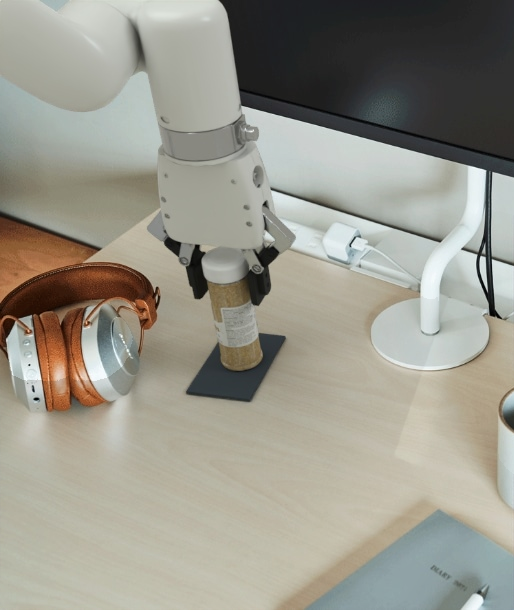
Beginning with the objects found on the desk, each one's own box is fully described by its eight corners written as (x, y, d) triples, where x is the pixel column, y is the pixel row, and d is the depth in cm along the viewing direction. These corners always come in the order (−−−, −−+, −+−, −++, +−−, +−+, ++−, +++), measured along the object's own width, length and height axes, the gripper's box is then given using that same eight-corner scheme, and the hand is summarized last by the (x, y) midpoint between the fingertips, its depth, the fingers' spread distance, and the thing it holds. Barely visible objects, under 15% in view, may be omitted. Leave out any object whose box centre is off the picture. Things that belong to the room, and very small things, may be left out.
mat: (186, 394, 96) (185, 391, 96) (227, 331, 105) (226, 328, 105) (250, 402, 96) (249, 399, 95) (285, 338, 104) (285, 335, 104)
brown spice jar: (220, 350, 102) (200, 246, 94) (262, 344, 103) (246, 241, 95) (221, 376, 98) (200, 270, 90) (265, 369, 99) (248, 265, 91)
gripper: (305, 125, 87) (322, 283, 97) (135, 110, 89) (170, 267, 100) (278, 160, 81) (299, 325, 91) (96, 144, 83) (137, 307, 94)
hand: (231, 293), depth 95 cm, fingers open, 5 cm apart
